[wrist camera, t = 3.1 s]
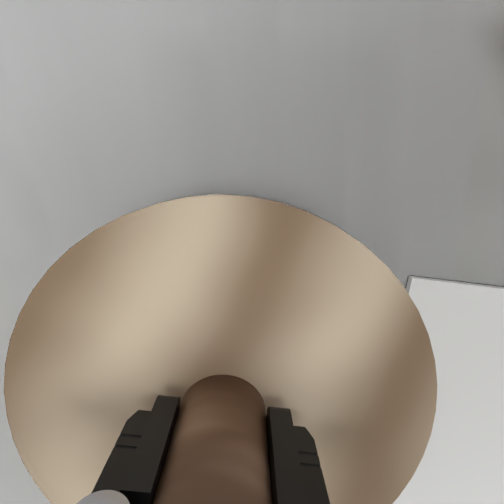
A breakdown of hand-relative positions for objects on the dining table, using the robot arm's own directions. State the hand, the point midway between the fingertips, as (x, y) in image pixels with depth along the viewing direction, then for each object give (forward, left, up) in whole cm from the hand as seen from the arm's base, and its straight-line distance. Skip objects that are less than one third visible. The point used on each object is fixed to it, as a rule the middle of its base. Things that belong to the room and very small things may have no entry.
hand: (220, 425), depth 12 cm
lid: (0, 0, -2) cm, 2 cm away
